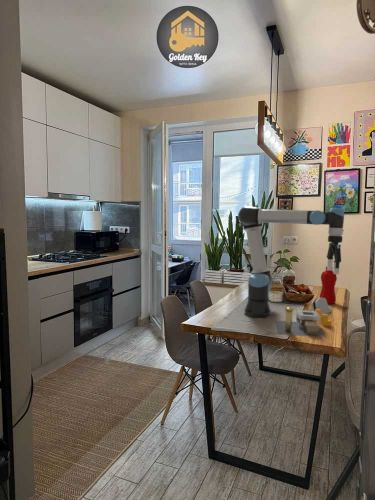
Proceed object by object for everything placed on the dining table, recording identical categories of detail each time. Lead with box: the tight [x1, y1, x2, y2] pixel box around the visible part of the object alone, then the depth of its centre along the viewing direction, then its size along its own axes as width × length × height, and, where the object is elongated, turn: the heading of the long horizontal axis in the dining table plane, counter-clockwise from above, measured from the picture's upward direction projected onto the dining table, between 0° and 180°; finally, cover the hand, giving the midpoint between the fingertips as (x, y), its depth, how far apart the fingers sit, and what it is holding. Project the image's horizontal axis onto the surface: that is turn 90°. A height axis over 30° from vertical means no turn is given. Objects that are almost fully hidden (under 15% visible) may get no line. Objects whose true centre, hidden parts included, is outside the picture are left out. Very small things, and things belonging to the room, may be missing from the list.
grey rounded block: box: [310, 297, 332, 315], centre depth 211 cm, size 17×5×10 cm, turn 138°
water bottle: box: [319, 266, 338, 305], centre depth 236 cm, size 9×11×25 cm
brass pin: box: [284, 306, 294, 333], centre depth 171 cm, size 4×4×12 cm
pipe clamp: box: [315, 309, 332, 327], centre depth 188 cm, size 12×4×6 cm, turn 179°
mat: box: [274, 320, 327, 338], centre depth 177 cm, size 22×23×1 cm
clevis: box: [295, 309, 321, 336], centre depth 176 cm, size 10×20×7 cm, turn 170°
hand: (332, 272), depth 199 cm, fingers open, 13 cm apart
